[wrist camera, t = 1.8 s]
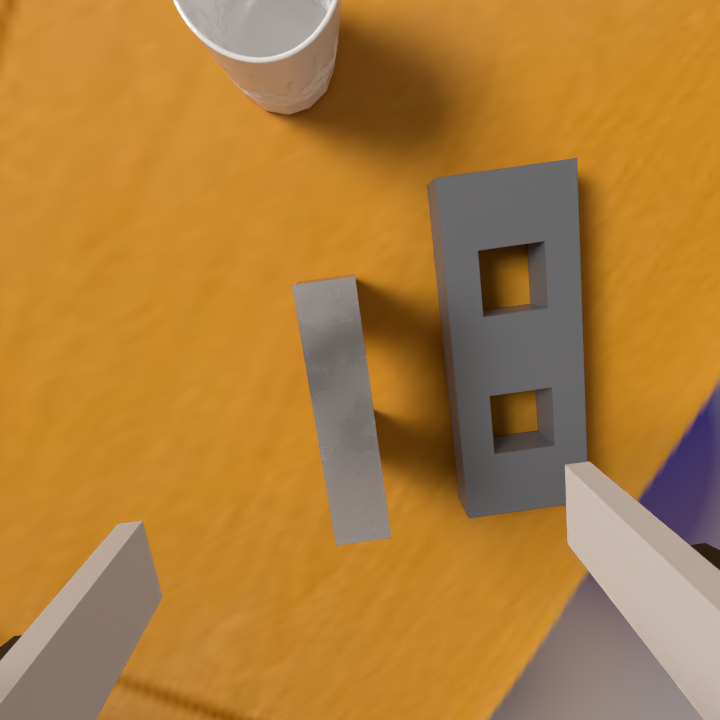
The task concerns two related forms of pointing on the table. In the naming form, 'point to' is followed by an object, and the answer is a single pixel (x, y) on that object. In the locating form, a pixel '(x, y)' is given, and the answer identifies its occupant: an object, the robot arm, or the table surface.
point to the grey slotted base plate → (512, 332)
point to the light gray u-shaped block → (343, 407)
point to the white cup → (270, 46)
